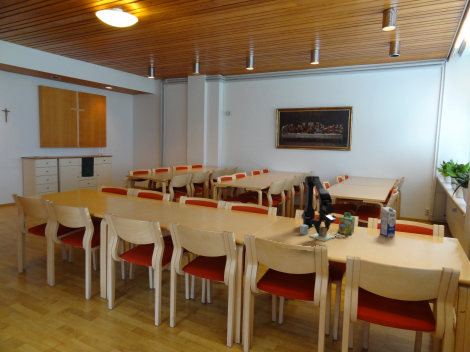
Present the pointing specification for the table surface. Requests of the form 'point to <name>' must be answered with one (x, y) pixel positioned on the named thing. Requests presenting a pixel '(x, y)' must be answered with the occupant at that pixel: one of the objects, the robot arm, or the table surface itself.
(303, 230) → the gray block
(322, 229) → the walnut block
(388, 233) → the milk carton
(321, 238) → the plate
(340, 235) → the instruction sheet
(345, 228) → the chalk box
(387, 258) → the table surface
